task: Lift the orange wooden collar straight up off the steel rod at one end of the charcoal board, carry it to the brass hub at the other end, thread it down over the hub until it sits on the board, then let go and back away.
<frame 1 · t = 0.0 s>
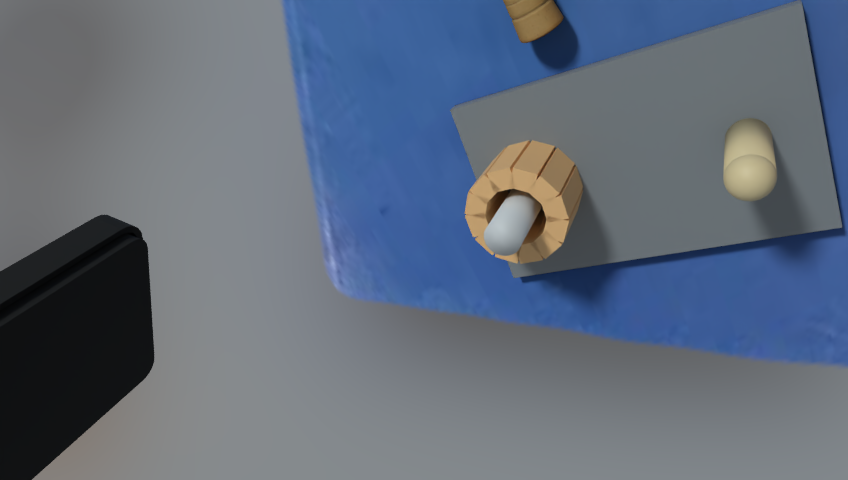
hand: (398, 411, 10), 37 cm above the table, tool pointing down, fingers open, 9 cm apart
collar: (533, 186, 48), point 1 cm above the table, touching board
board: (634, 159, 45), on the table
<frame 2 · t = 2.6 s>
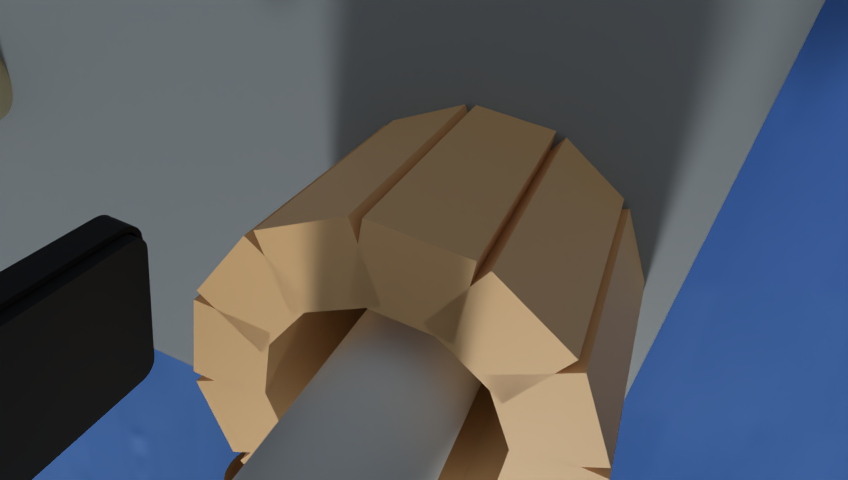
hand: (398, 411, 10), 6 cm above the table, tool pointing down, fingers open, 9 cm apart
collar: (474, 262, 14), point 1 cm above the table, touching board
board: (225, 144, 17), on the table
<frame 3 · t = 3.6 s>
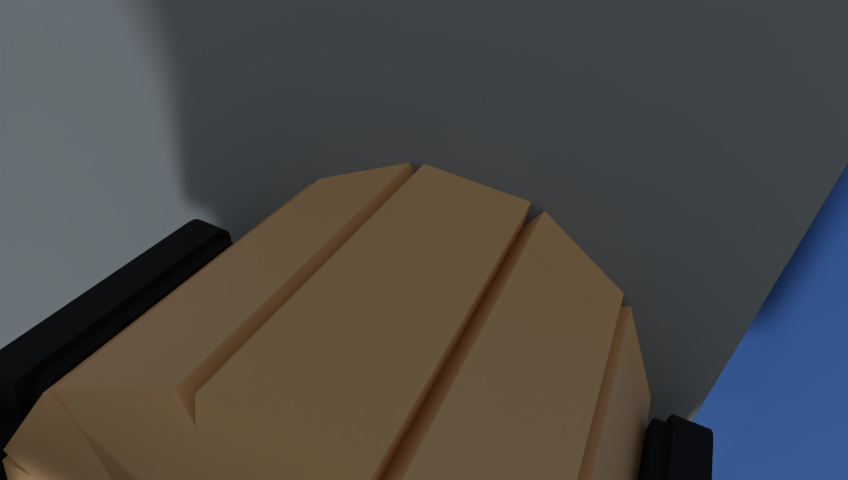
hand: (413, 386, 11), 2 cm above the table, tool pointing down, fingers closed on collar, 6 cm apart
collar: (431, 357, 11), point 1 cm above the table, touching board, gripper
board: (132, 192, 14), on the table
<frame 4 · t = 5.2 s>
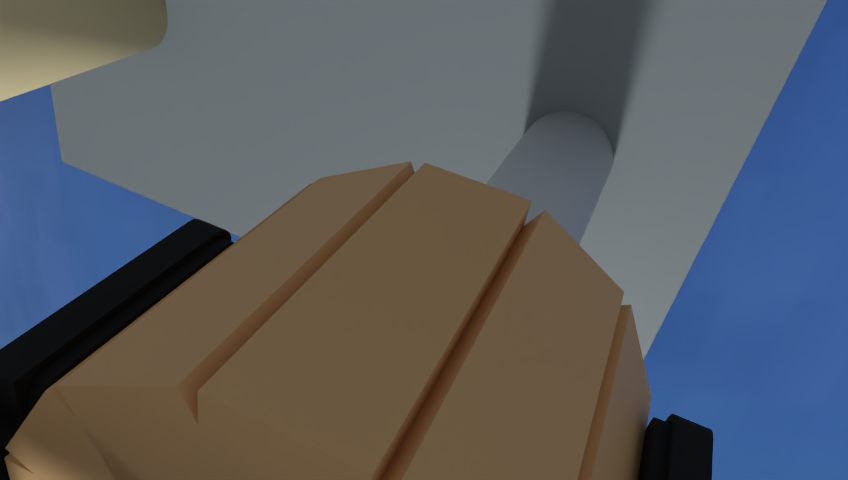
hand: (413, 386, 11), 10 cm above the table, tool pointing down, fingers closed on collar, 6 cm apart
collar: (431, 356, 11), point 9 cm above the table, touching gripper
board: (348, 65, 20), on the table
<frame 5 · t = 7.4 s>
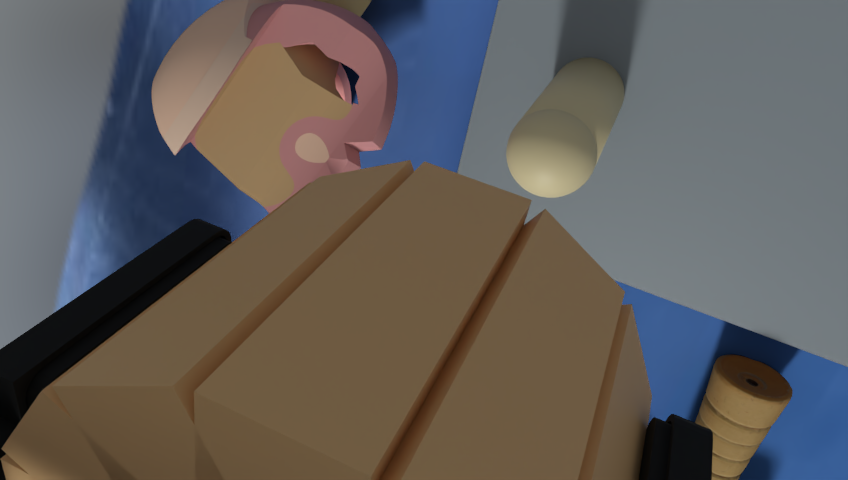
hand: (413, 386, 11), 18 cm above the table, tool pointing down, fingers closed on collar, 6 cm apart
collar: (431, 356, 11), point 17 cm above the table, touching gripper
board: (784, 145, 23), on the table
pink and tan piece: (337, 60, 29), on the table
when the fingers open (2 cm above the table, at t = 10.6 s): collar stays where it is, resting on board.
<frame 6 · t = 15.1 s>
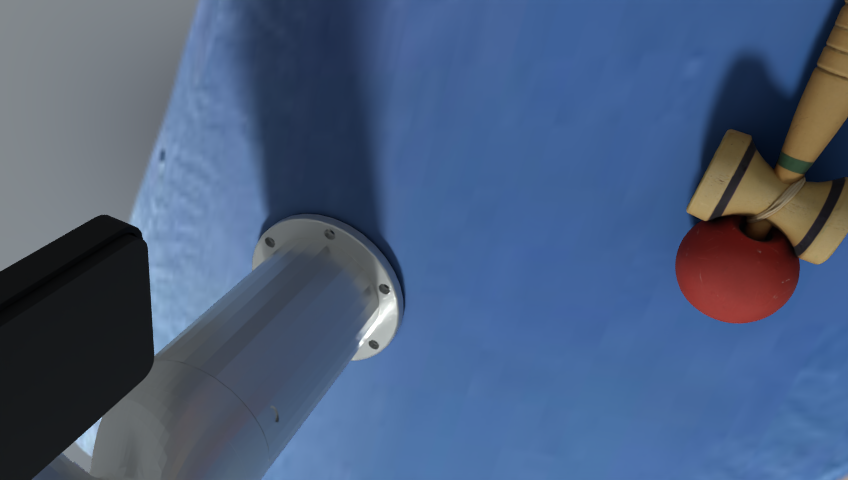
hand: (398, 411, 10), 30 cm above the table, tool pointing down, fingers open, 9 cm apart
kendama: (786, 143, 35), on the table
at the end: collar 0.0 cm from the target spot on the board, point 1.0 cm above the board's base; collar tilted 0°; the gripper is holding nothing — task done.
